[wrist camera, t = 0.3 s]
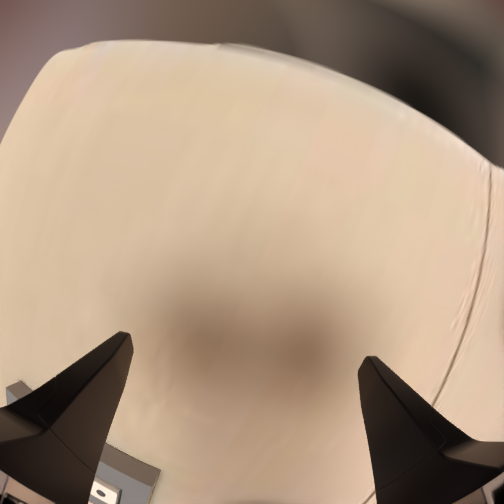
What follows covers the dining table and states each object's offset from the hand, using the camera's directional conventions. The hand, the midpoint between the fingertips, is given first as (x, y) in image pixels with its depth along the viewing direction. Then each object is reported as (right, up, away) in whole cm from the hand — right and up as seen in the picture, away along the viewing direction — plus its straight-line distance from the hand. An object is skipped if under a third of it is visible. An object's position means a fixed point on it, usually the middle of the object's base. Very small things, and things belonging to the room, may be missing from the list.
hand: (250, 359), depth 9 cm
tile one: (-18, -25, +11) cm, 32 cm away
